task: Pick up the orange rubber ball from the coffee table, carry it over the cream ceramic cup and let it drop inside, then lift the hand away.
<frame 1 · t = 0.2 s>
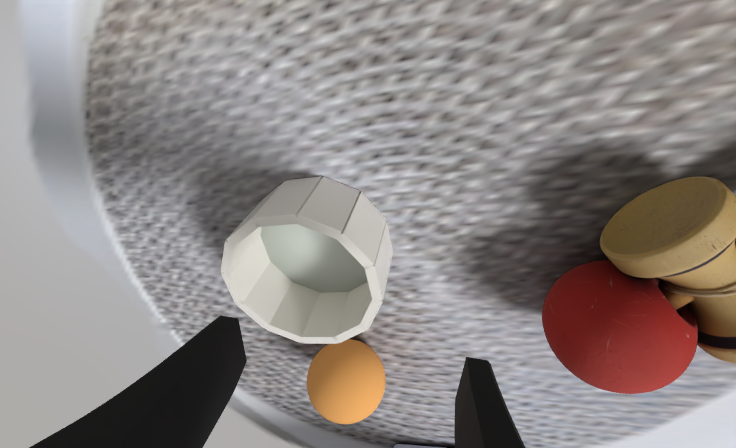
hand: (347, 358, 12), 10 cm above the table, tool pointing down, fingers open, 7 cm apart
kendama: (711, 209, 17), on the table
ball: (346, 379, 24), point 2 cm above the table
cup: (322, 241, 22), on the table
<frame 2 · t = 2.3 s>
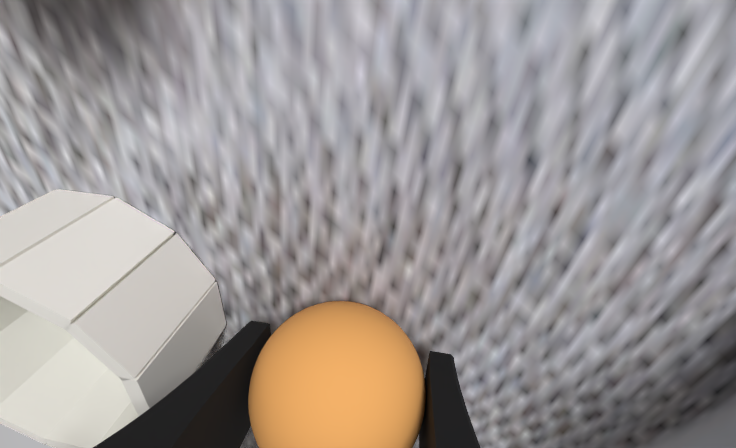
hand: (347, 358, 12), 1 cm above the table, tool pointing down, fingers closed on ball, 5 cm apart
ball: (338, 389, 11), point 2 cm above the table, touching gripper
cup: (123, 287, 14), on the table
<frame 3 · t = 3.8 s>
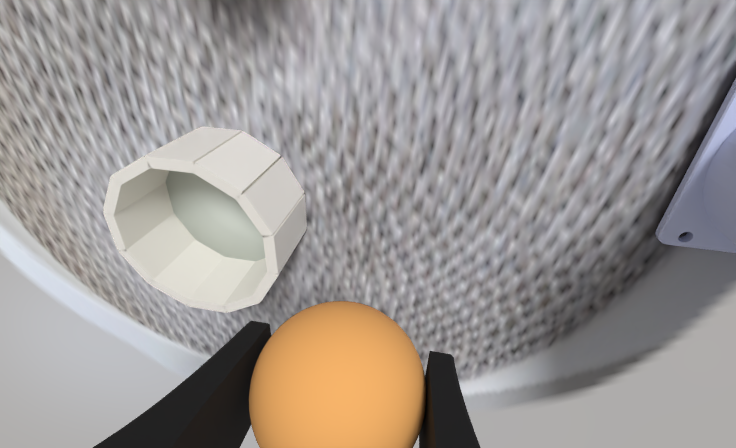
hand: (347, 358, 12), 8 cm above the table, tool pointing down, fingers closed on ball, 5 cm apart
ball: (339, 389, 11), point 10 cm above the table, touching gripper
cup: (234, 202, 20), on the table
when the fingers open (7 cm above the table, at t = 5.5 s): ball drops 5 cm, resting on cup.
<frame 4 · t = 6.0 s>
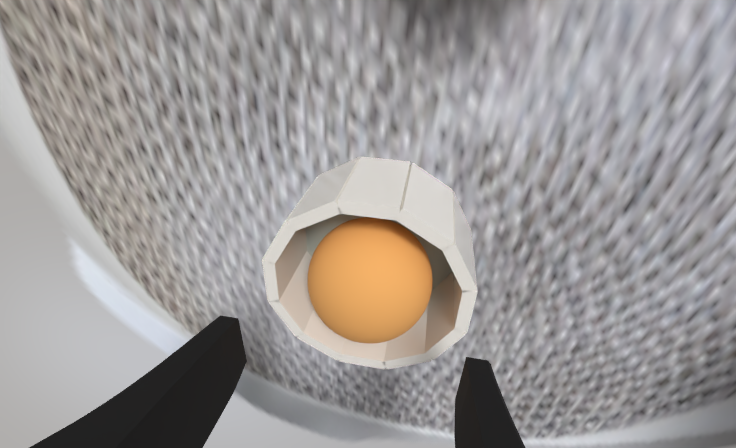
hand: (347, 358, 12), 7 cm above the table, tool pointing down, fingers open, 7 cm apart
ball: (369, 278, 15), point 3 cm above the table, touching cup
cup: (380, 239, 18), on the table
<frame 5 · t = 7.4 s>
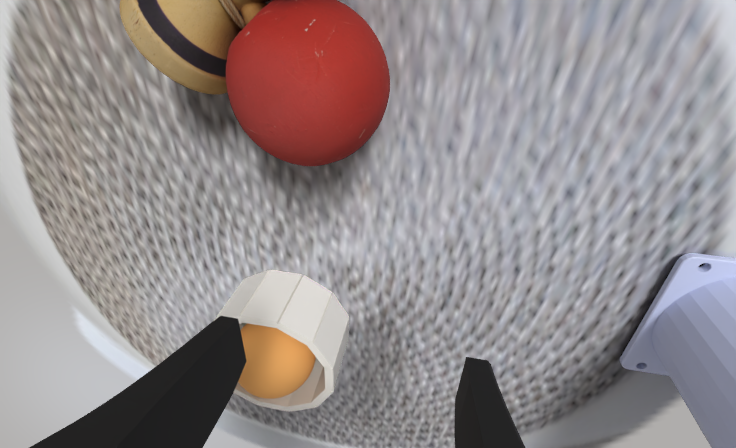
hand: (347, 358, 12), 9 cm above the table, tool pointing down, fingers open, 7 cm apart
ball: (274, 353, 23), point 3 cm above the table, touching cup
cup: (290, 318, 25), on the table
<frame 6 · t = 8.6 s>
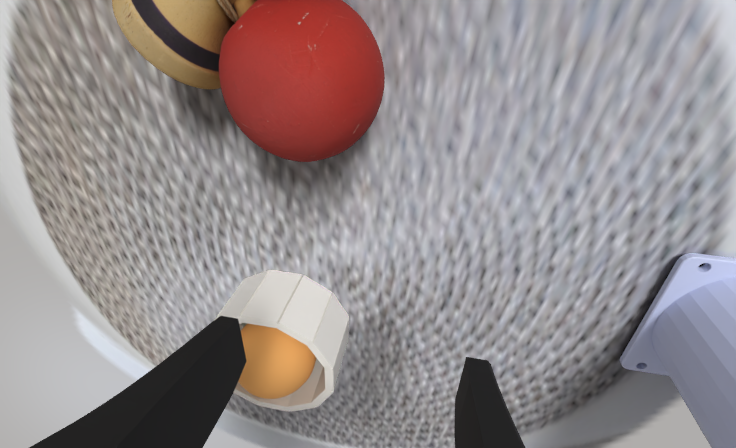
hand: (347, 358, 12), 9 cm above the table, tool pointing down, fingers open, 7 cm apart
ball: (275, 353, 23), point 3 cm above the table, touching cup
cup: (290, 318, 25), on the table
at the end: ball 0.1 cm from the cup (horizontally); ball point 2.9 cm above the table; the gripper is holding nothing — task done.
